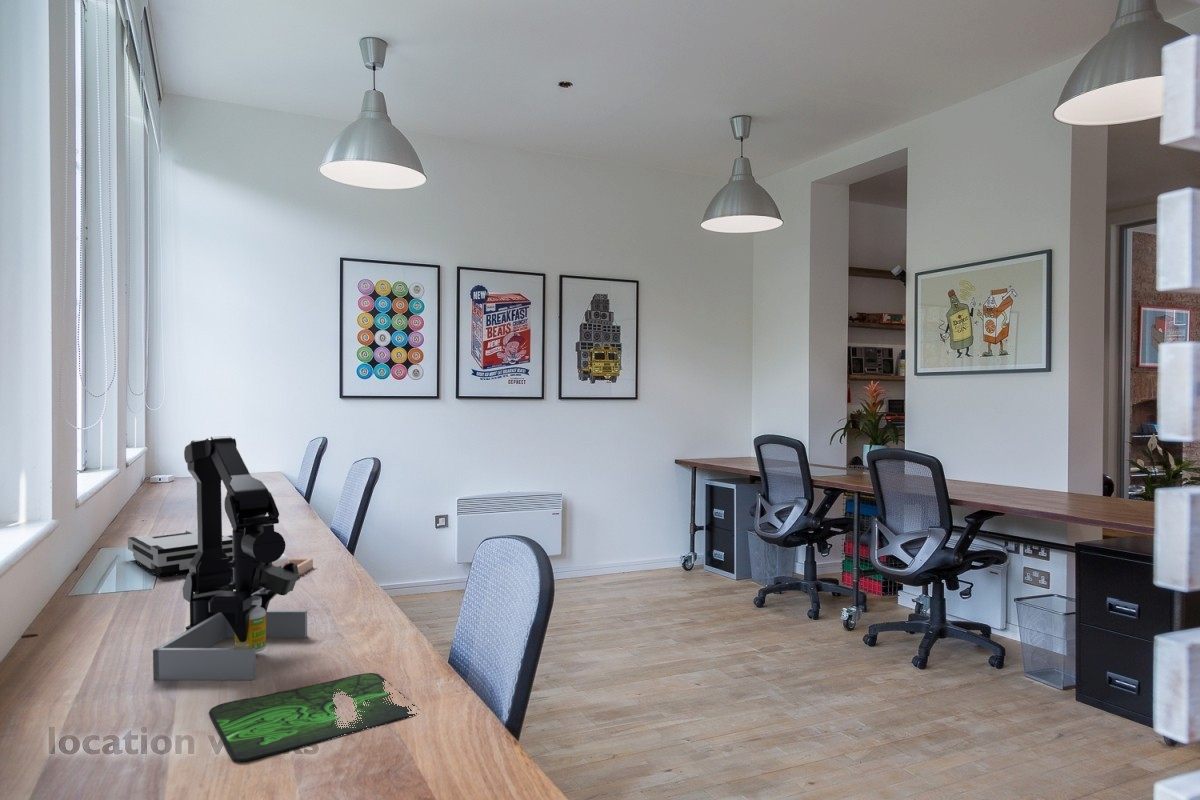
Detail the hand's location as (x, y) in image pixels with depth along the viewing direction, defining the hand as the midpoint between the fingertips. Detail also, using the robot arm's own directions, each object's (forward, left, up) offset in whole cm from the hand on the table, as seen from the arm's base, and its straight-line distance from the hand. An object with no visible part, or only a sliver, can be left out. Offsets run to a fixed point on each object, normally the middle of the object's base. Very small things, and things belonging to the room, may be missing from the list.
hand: (250, 636), depth 142 cm
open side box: (-3, 0, -4) cm, 5 cm away
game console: (-57, +75, -4) cm, 94 cm away
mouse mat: (+22, -24, -4) cm, 33 cm away
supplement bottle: (0, 0, -3) cm, 3 cm away
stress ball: (-24, +62, -4) cm, 66 cm away
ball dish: (-23, +63, -4) cm, 67 cm away
